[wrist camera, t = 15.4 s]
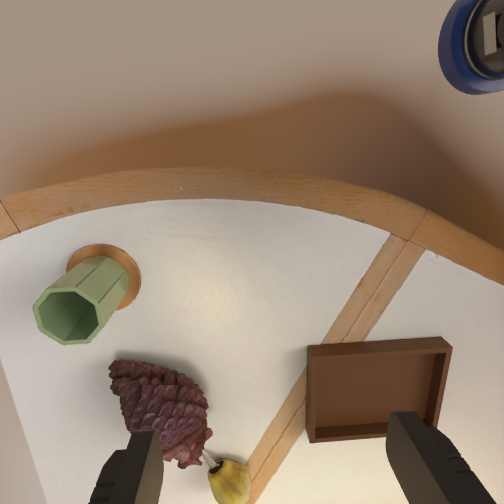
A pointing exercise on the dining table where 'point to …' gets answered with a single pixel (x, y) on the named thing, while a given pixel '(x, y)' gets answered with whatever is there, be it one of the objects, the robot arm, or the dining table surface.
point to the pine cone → (163, 408)
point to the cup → (82, 300)
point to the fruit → (229, 481)
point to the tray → (373, 386)
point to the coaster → (119, 257)
